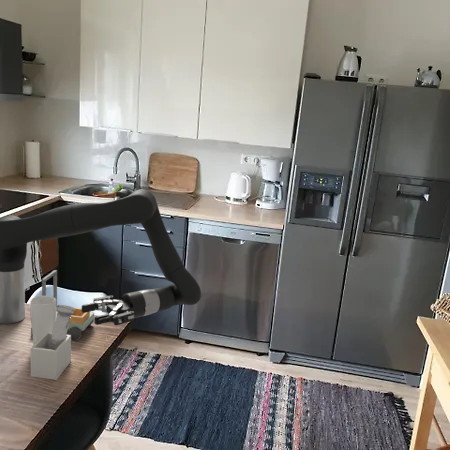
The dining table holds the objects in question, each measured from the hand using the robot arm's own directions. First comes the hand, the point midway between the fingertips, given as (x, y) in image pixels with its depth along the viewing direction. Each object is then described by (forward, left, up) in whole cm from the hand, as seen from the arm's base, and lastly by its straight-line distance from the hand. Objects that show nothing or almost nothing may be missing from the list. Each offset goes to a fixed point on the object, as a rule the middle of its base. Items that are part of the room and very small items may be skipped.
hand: (88, 315), depth 127 cm
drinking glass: (-14, +2, -13) cm, 19 cm away
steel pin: (-7, -7, -12) cm, 15 cm away
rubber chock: (-19, +9, -13) cm, 25 cm away
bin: (-7, -7, -13) cm, 17 cm away
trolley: (-12, +14, -13) cm, 23 cm away
